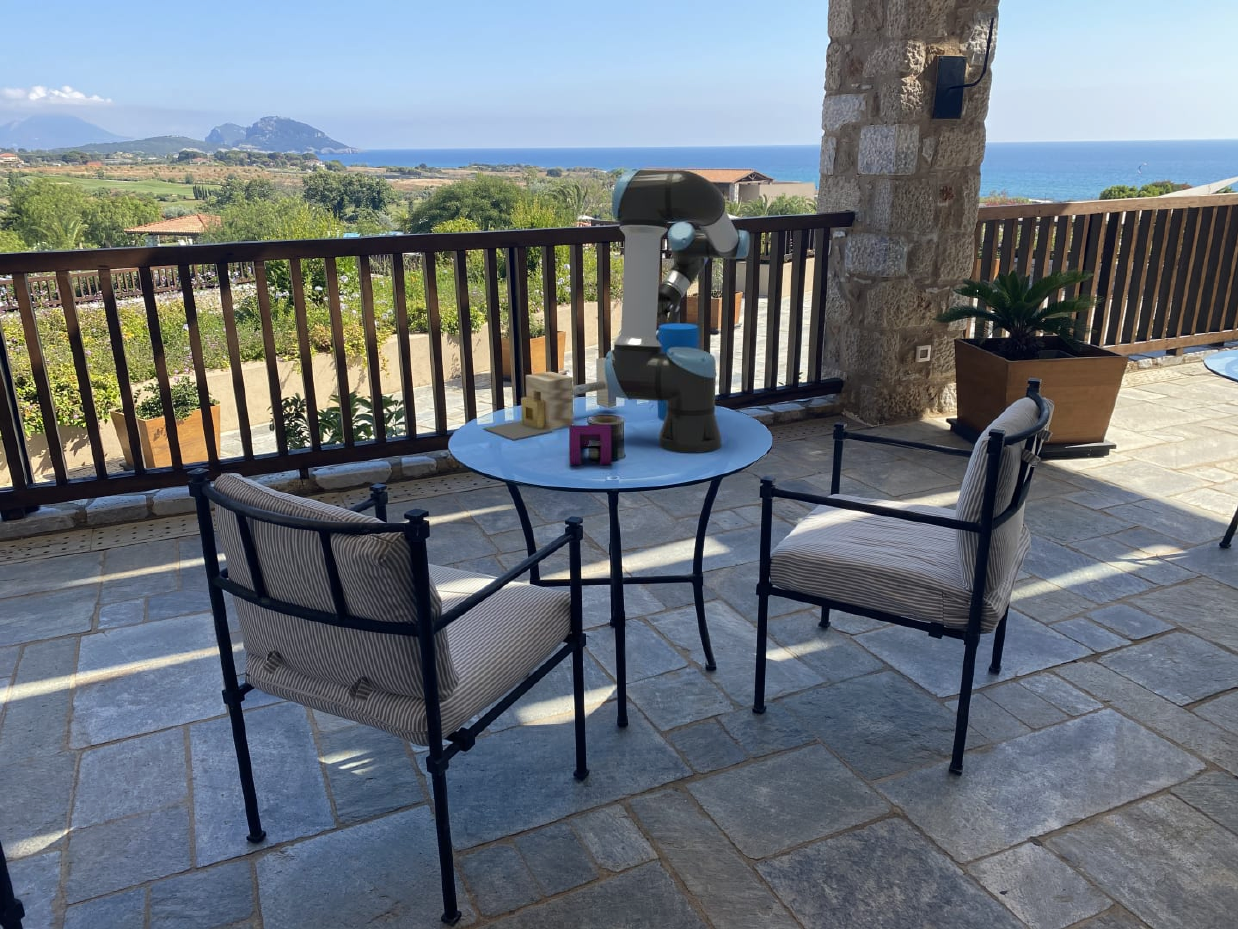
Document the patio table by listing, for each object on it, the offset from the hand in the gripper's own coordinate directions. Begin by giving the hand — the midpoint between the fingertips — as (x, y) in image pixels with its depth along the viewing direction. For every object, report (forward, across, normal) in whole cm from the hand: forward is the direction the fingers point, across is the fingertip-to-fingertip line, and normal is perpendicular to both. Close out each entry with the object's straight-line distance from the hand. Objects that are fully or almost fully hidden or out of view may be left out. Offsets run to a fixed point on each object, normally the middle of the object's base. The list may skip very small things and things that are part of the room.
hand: (632, 348), depth 248 cm
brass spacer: (+36, 0, +13) cm, 38 cm away
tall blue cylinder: (+11, -17, -13) cm, 24 cm away
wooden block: (+32, 0, +8) cm, 34 cm away
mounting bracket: (+40, -30, +15) cm, 52 cm away
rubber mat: (+40, 0, +16) cm, 43 cm away
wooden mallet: (+24, 0, +3) cm, 24 cm away
